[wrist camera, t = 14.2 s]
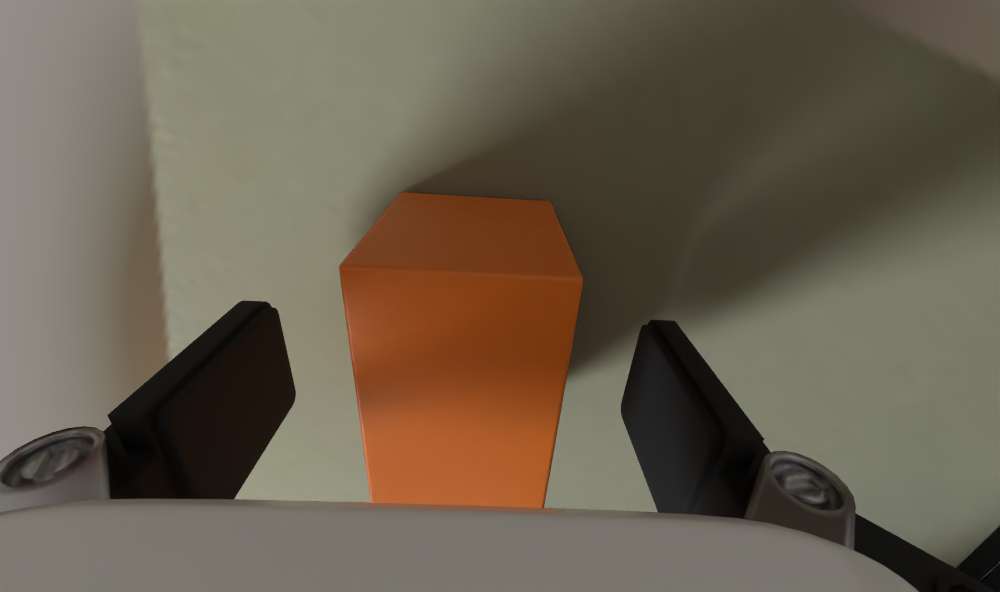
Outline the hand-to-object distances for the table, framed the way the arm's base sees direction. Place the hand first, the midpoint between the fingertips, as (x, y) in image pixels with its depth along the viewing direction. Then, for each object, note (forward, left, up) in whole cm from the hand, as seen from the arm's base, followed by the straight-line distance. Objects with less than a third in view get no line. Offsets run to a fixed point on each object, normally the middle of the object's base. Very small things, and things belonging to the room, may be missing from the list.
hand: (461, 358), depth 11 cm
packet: (0, 0, -2) cm, 2 cm away
